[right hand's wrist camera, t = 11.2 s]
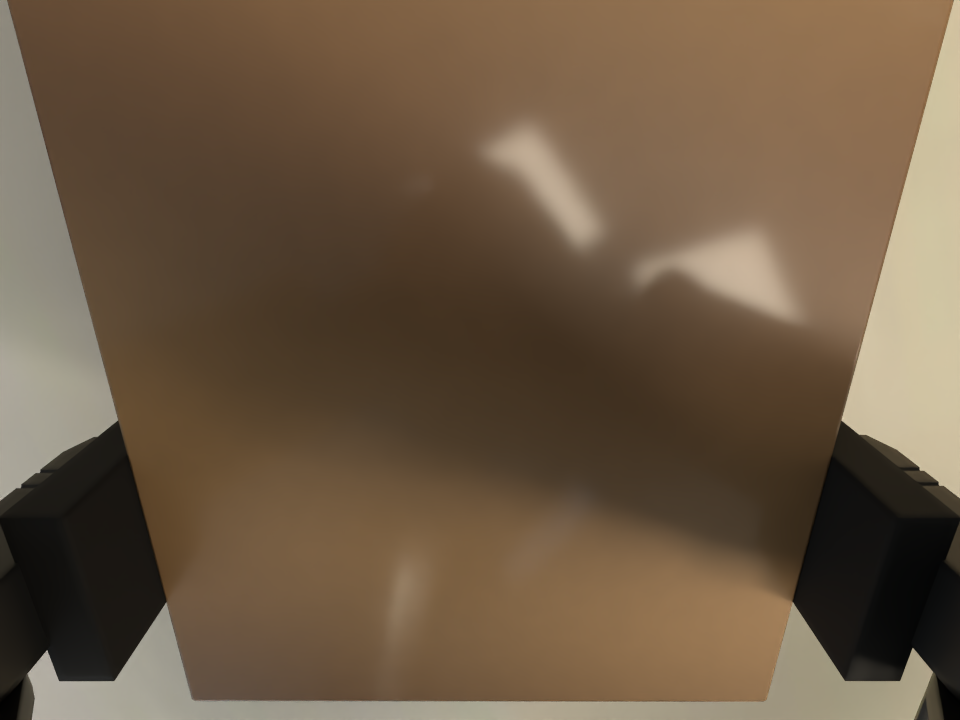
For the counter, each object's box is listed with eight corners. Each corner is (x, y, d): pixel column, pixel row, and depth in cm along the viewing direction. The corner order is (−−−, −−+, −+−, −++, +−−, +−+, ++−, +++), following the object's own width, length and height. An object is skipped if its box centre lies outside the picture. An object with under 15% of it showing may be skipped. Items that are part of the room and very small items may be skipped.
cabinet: (216, -383, 11) (-432, -1634, 3) (744, -382, 11) (1394, -1628, 3) (317, 450, 18) (191, 702, 10) (641, 450, 18) (767, 703, 10)
